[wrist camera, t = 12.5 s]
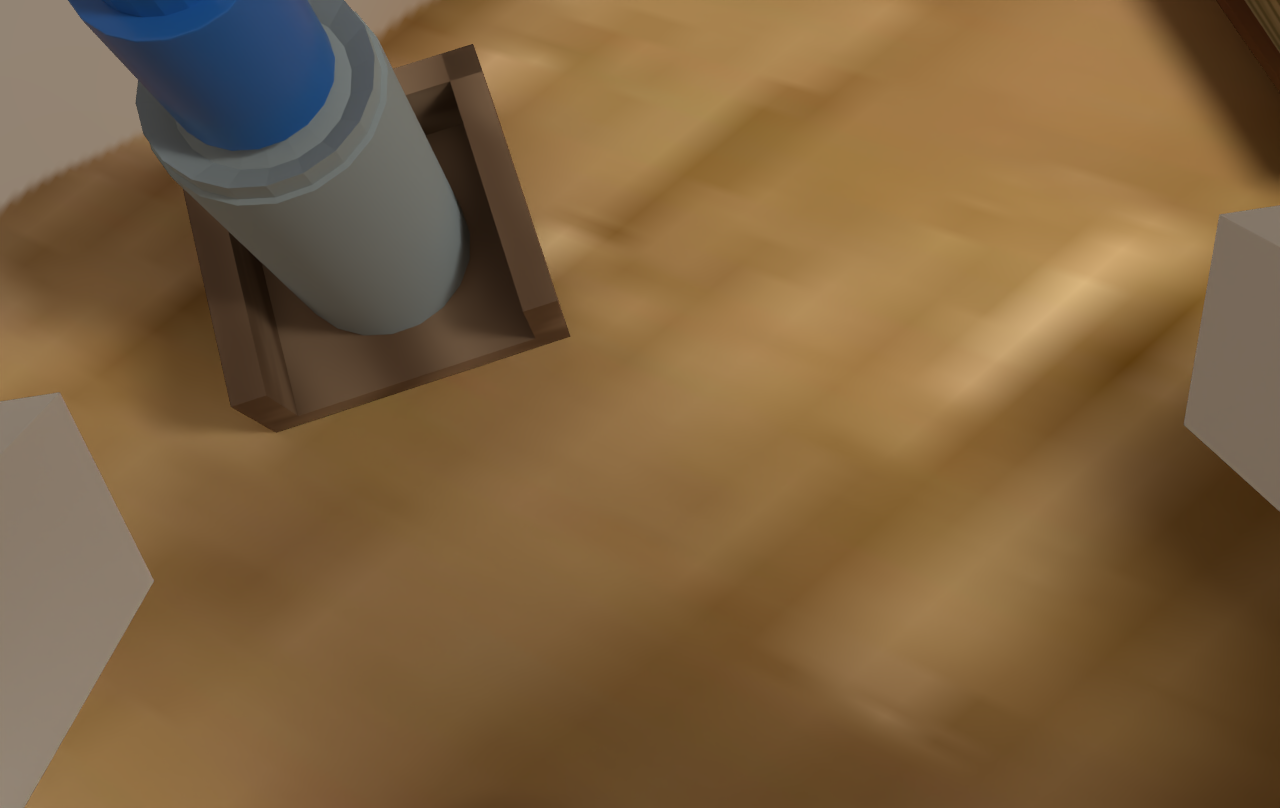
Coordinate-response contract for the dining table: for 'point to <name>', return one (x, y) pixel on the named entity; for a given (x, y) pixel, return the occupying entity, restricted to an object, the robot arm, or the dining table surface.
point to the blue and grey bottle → (297, 148)
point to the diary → (1258, 31)
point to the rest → (439, 347)
